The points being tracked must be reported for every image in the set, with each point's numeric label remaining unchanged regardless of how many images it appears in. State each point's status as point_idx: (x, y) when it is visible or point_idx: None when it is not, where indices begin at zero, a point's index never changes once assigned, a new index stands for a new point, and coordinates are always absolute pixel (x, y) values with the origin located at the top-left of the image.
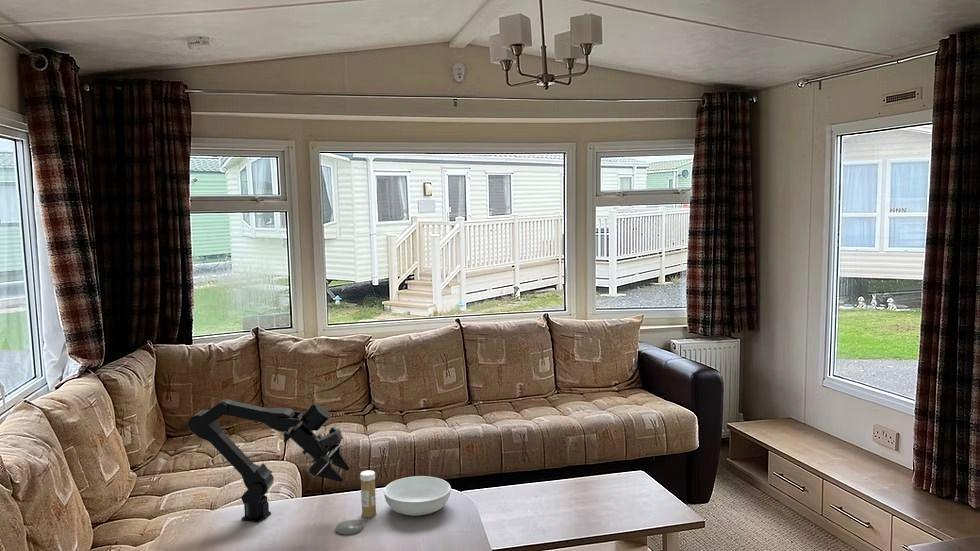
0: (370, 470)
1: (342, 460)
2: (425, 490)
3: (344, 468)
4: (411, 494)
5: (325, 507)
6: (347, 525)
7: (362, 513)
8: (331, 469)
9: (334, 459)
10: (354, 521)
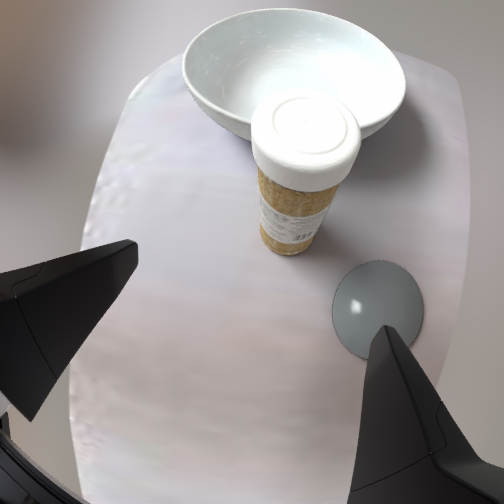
0: (264, 102)
1: (67, 284)
2: (223, 59)
3: (122, 282)
4: (219, 89)
5: (158, 377)
6: (376, 318)
7: (292, 251)
8: (464, 453)
9: (35, 361)
10: (352, 290)
